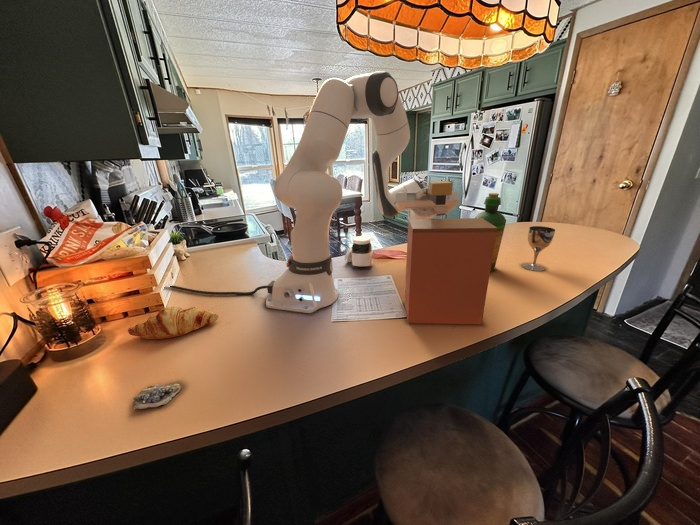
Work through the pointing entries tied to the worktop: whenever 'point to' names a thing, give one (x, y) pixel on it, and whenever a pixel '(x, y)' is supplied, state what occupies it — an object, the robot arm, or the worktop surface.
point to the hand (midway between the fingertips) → (430, 190)
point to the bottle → (494, 221)
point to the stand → (448, 269)
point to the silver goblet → (539, 243)
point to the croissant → (172, 323)
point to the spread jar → (360, 253)
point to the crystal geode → (156, 396)
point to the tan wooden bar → (439, 191)
